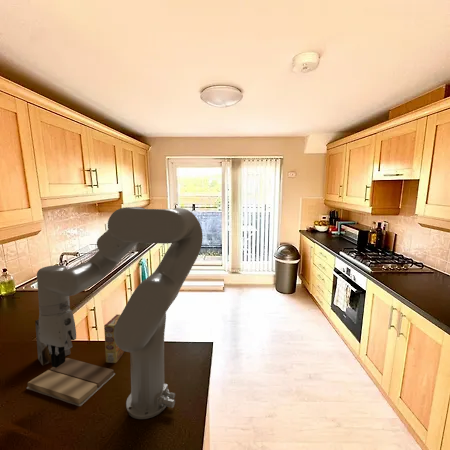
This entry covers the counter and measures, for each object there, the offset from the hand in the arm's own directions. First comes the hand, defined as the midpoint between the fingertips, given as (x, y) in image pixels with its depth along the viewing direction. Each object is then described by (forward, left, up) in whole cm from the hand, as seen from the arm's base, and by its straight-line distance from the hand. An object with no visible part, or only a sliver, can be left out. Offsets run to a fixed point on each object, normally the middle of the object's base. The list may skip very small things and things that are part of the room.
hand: (58, 364), depth 74 cm
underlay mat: (0, -5, -10) cm, 11 cm away
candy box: (-4, -20, -10) cm, 23 cm away
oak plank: (0, -1, -9) cm, 9 cm away
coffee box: (+18, -12, -10) cm, 24 cm away
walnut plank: (0, -8, -9) cm, 12 cm away
